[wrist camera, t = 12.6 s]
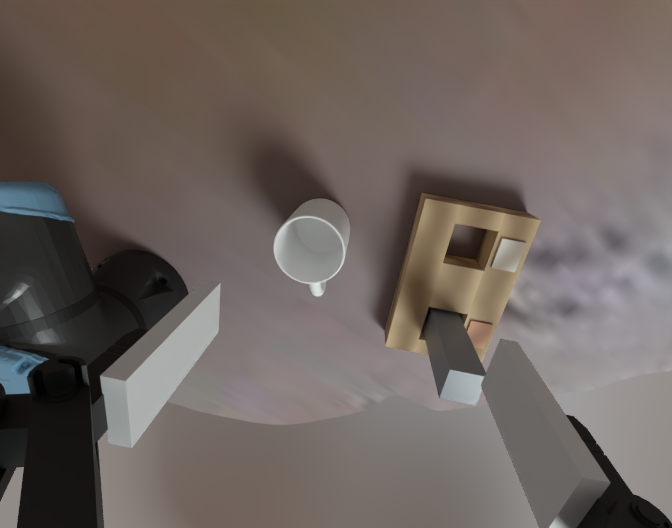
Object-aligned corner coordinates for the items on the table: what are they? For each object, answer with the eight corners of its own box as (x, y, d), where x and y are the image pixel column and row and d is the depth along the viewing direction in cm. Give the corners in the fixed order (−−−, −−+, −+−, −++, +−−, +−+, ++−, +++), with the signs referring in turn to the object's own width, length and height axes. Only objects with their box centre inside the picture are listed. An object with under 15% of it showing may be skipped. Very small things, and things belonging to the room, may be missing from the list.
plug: (420, 321, 52) (439, 398, 38) (427, 298, 51) (450, 369, 36) (446, 326, 52) (475, 405, 38) (454, 303, 51) (487, 377, 36)
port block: (384, 331, 54) (385, 347, 50) (421, 192, 45) (426, 198, 41) (473, 348, 53) (481, 366, 49) (527, 212, 45) (542, 220, 41)
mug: (351, 277, 51) (347, 312, 41) (297, 276, 52) (280, 311, 42) (350, 196, 46) (344, 214, 37) (290, 197, 47) (269, 215, 38)
